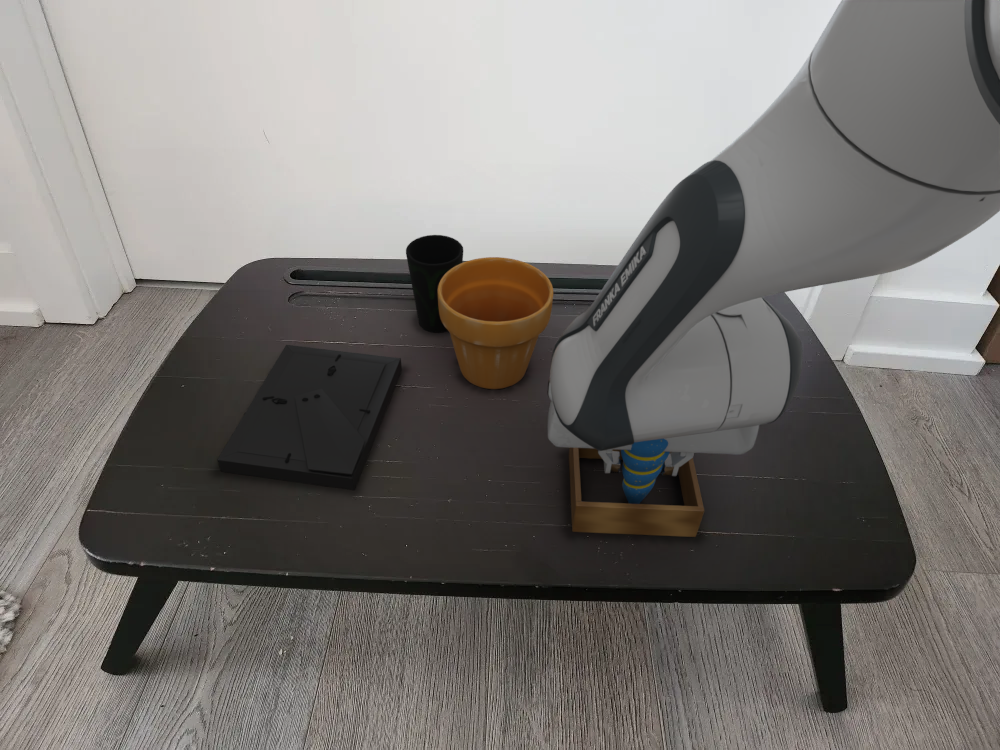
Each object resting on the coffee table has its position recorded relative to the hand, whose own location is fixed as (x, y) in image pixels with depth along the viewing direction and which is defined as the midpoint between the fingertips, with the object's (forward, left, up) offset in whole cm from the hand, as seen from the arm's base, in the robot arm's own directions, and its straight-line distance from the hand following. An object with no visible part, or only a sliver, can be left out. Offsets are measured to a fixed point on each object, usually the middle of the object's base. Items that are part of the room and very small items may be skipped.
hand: (639, 470), depth 76 cm
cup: (+41, -2, -6) cm, 41 cm away
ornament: (0, 0, -6) cm, 6 cm away
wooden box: (+2, -1, -6) cm, 6 cm away
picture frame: (+34, +21, -6) cm, 40 cm away
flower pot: (+28, -2, -6) cm, 28 cm away
